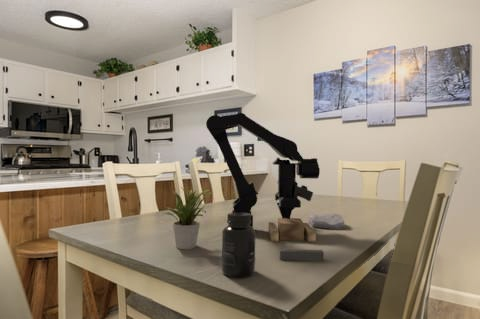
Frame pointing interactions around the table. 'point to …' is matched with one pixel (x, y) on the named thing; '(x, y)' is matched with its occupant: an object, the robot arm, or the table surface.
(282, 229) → the walnut block
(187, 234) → the house plant
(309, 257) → the bar
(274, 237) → the oak chute
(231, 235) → the supplement bottle
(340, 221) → the stone block
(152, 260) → the table surface
